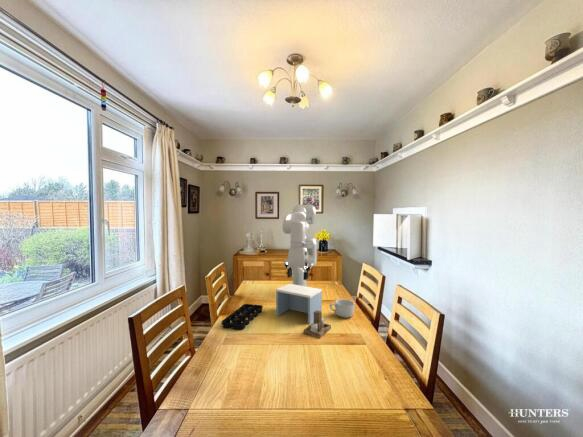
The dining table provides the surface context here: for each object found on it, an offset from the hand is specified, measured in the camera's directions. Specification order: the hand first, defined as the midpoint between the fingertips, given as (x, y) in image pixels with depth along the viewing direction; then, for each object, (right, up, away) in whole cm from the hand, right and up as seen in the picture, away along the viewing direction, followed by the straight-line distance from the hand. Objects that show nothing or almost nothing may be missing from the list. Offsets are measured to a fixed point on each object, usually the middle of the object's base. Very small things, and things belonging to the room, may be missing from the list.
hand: (297, 278), depth 136 cm
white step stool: (+1, -25, +16) cm, 30 cm away
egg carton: (-30, -26, +12) cm, 41 cm away
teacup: (+26, -26, +16) cm, 40 cm away
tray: (+10, -26, -3) cm, 28 cm away
